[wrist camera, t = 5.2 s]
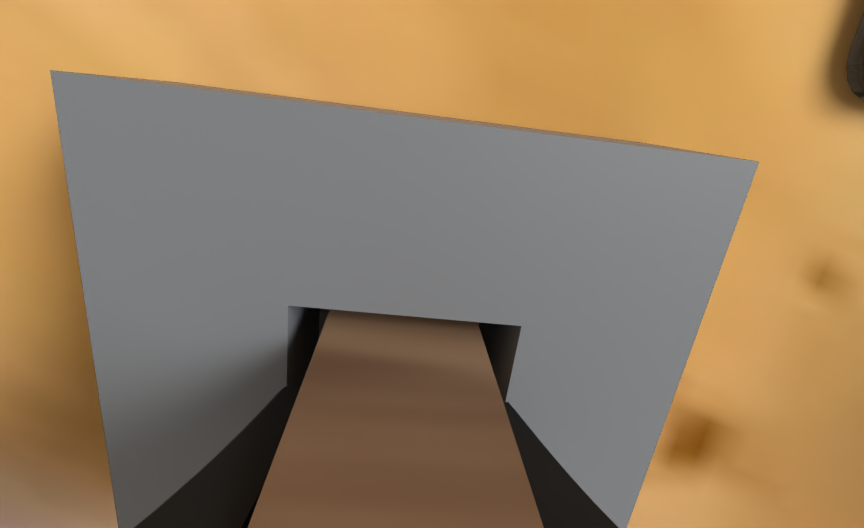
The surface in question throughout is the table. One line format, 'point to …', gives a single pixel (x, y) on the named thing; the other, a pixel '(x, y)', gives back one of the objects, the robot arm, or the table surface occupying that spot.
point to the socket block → (378, 265)
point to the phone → (857, 62)
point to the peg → (397, 433)
